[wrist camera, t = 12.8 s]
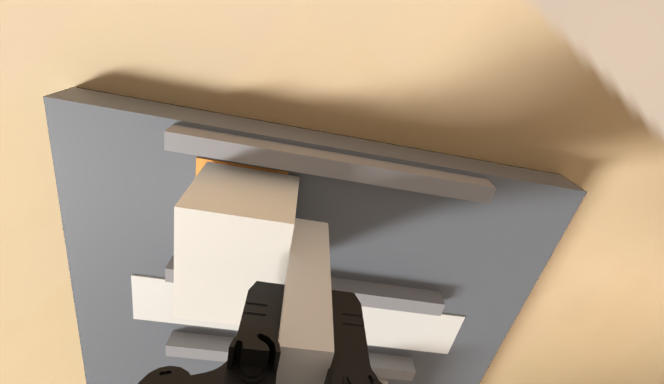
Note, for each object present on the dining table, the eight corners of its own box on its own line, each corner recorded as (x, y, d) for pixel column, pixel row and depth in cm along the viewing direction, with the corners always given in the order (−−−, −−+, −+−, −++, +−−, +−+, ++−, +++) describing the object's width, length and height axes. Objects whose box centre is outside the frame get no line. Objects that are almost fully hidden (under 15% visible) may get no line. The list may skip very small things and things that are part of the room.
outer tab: (284, 266, 18) (276, 329, 15) (202, 255, 18) (173, 317, 14) (299, 176, 16) (294, 224, 12) (207, 161, 16) (173, 206, 12)
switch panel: (439, 411, 28) (452, 454, 25) (106, 381, 25) (81, 426, 22) (561, 174, 19) (601, 202, 16) (73, 87, 16) (25, 102, 14)
